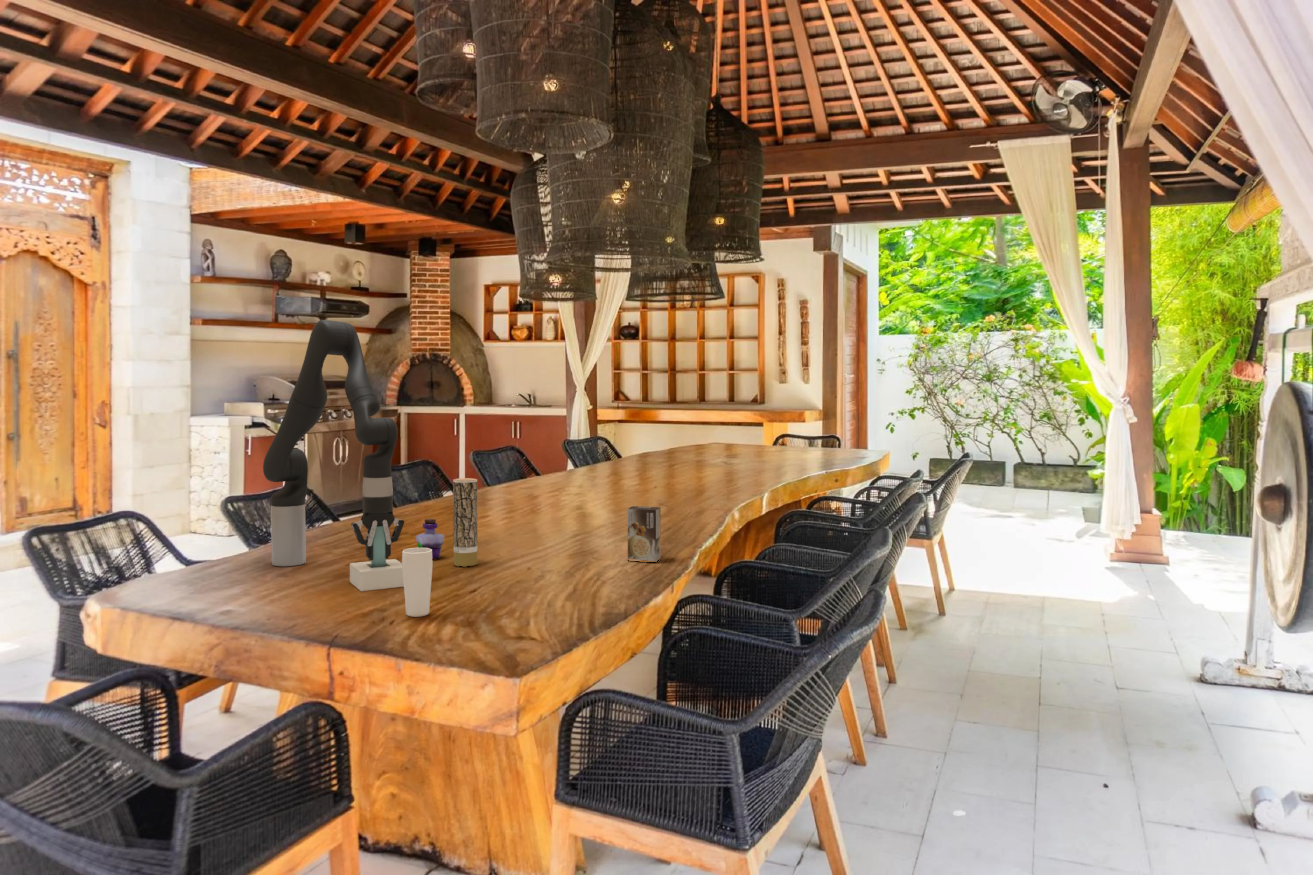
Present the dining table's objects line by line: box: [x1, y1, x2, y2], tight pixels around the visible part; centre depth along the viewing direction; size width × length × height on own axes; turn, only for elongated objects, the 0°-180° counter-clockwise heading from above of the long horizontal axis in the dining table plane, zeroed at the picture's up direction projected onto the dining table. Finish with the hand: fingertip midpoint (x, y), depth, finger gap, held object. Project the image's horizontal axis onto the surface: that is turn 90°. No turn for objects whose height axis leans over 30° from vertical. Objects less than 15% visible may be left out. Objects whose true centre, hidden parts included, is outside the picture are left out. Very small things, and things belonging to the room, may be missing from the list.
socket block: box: [349, 558, 404, 592], centre depth 239 cm, size 12×12×5 cm
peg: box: [370, 526, 387, 568], centre depth 239 cm, size 4×4×12 cm
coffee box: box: [627, 505, 661, 561], centre depth 273 cm, size 9×6×16 cm
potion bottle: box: [415, 518, 445, 560], centre depth 273 cm, size 9×9×12 cm
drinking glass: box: [401, 547, 433, 618], centre depth 209 cm, size 7×7×15 cm
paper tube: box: [452, 477, 478, 568], centre depth 263 cm, size 7×7×25 cm
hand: (378, 558), depth 239 cm, fingers closed on peg, 3 cm apart
